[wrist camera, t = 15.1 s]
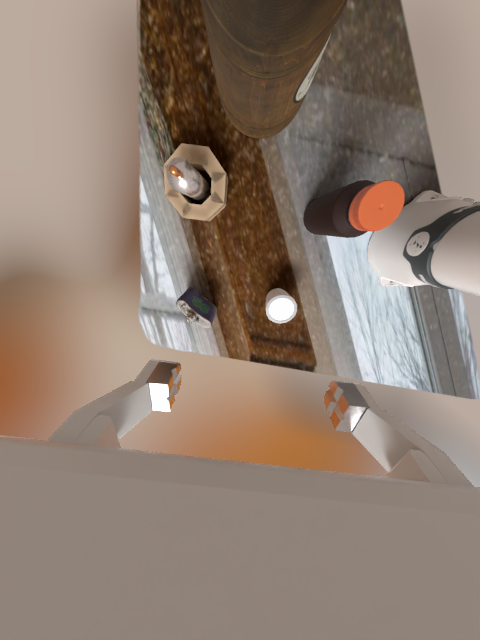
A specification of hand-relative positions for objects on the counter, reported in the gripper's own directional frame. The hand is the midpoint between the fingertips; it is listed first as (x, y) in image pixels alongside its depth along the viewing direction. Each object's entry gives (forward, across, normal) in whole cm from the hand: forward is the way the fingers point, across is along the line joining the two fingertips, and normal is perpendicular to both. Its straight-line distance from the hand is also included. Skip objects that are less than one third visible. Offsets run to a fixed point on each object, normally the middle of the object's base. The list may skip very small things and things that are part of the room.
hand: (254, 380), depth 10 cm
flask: (+37, +11, +11) cm, 40 cm away
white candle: (+37, +12, -13) cm, 41 cm away
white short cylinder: (+37, -8, +8) cm, 39 cm away
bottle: (+37, -13, -11) cm, 41 cm away
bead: (+37, +12, -13) cm, 41 cm away
